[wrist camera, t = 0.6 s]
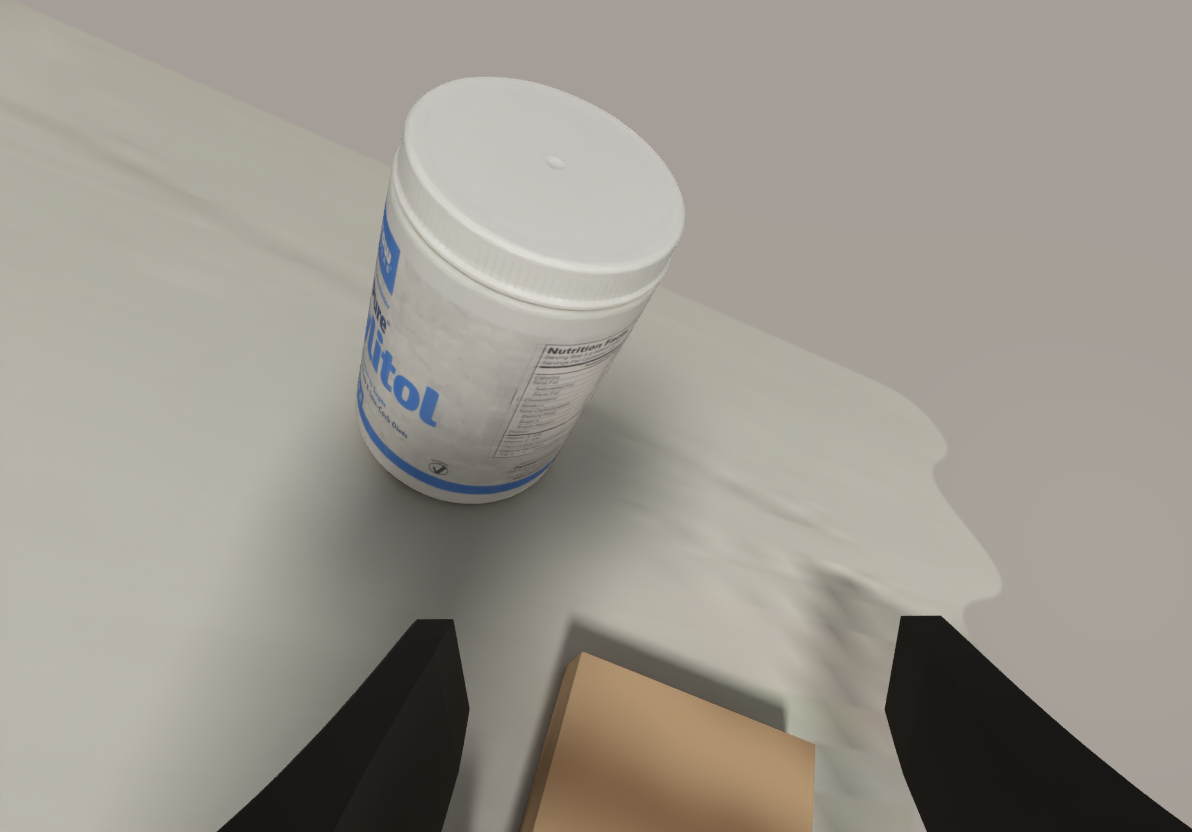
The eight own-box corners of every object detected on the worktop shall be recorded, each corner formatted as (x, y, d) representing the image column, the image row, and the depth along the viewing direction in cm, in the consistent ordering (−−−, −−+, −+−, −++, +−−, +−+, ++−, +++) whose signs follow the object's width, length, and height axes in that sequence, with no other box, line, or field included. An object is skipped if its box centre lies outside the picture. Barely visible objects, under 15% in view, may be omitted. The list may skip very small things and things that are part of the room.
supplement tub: (310, 392, 31) (325, 86, 20) (475, 320, 37) (556, 53, 26) (445, 555, 29) (545, 312, 18) (597, 451, 35) (744, 219, 24)
